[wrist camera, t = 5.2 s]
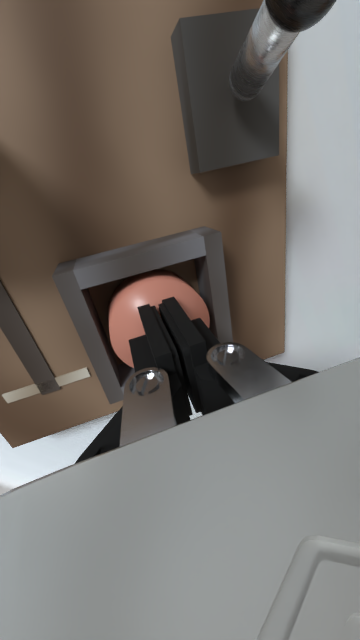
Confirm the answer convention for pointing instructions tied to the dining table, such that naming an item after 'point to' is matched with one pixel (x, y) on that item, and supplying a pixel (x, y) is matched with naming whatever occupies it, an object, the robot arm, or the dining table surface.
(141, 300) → the push button
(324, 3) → the toggle lever
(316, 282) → the dining table surface
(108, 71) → the control board
